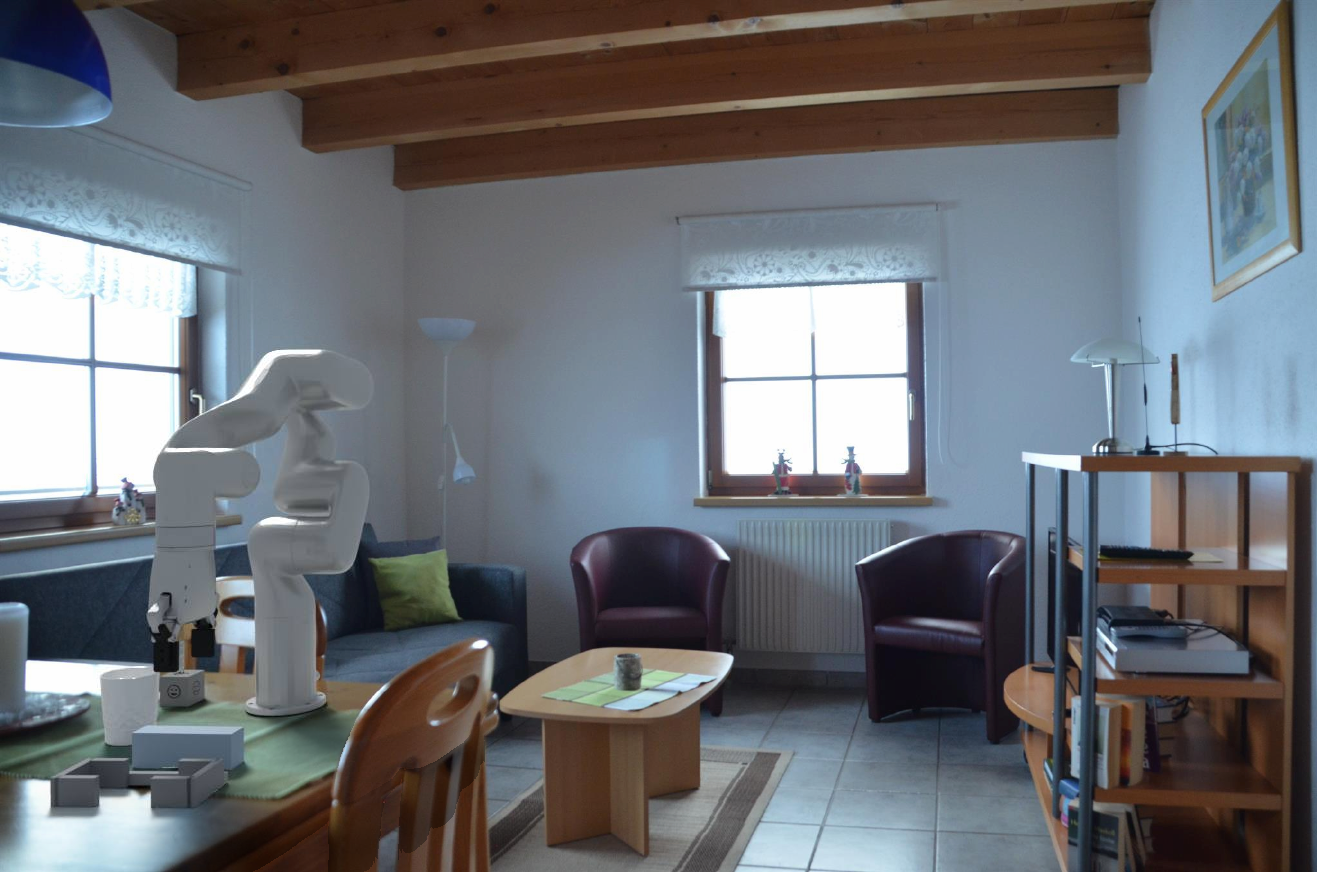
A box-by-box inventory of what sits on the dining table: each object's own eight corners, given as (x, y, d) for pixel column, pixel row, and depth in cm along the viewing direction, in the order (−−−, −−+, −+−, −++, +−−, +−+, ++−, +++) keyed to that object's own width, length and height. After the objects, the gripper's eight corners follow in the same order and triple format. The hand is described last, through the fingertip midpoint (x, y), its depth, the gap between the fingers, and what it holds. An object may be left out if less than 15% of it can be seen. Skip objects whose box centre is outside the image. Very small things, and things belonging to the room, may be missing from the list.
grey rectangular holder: (92, 782, 130) (92, 755, 130) (228, 783, 130) (227, 756, 130) (50, 806, 122) (50, 777, 122) (195, 807, 121) (194, 778, 121)
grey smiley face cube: (177, 698, 172) (177, 669, 172) (204, 699, 172) (204, 670, 172) (159, 706, 167) (159, 676, 167) (188, 706, 167) (187, 677, 167)
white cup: (135, 749, 144) (134, 680, 144) (87, 746, 146) (87, 677, 146) (172, 733, 152) (171, 667, 152) (126, 730, 153) (126, 665, 153)
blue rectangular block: (132, 769, 136) (131, 732, 136) (147, 761, 139) (146, 725, 139) (231, 771, 135) (231, 734, 135) (243, 762, 138) (243, 726, 138)
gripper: (191, 534, 146) (190, 651, 145) (123, 544, 128) (122, 678, 128) (241, 534, 145) (241, 652, 145) (180, 544, 128) (179, 678, 128)
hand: (185, 664), depth 137 cm, fingers open, 9 cm apart
